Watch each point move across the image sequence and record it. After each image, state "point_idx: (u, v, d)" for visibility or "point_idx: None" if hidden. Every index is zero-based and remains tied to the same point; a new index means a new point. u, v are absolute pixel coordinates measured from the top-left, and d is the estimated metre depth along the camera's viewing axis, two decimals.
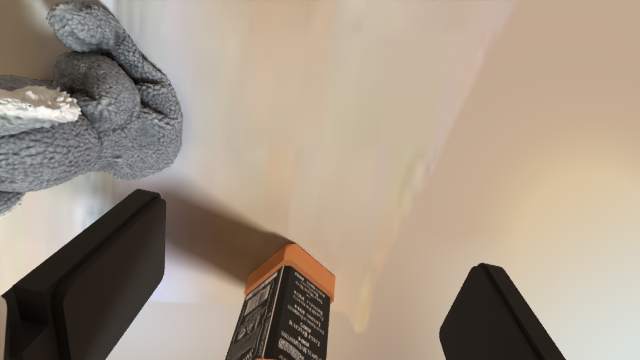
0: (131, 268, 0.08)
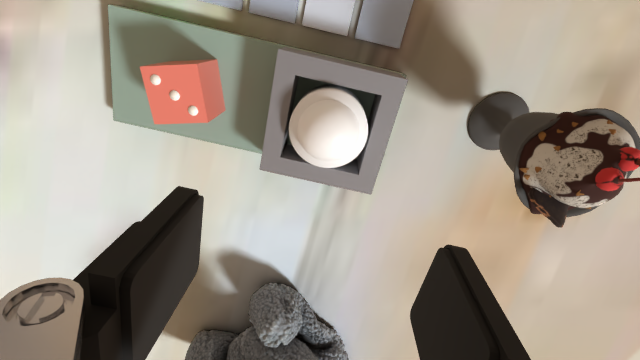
0: (176, 260, 0.09)
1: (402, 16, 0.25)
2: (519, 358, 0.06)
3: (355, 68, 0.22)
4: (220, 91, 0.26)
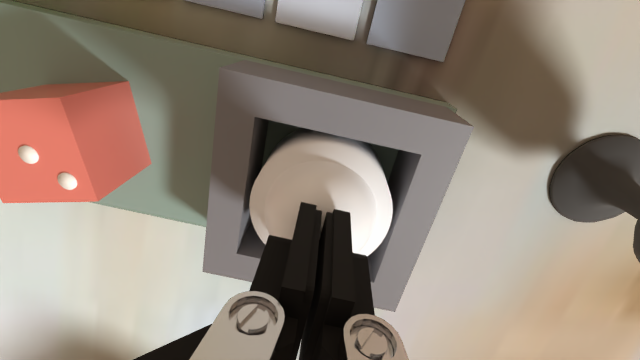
0: None
1: (453, 5, 0.14)
2: (343, 297, 0.07)
3: (371, 105, 0.11)
4: (137, 135, 0.15)
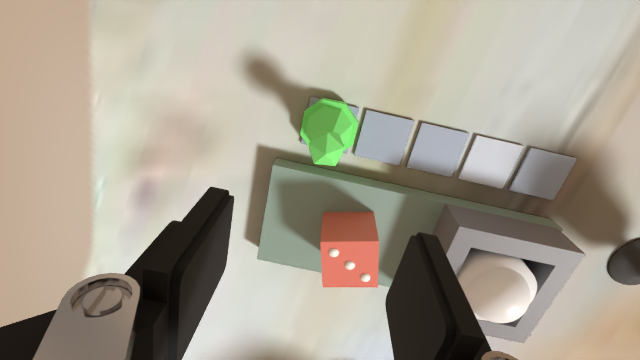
0: (212, 257, 0.09)
1: (562, 173, 0.25)
2: (473, 334, 0.07)
3: (534, 243, 0.23)
4: None
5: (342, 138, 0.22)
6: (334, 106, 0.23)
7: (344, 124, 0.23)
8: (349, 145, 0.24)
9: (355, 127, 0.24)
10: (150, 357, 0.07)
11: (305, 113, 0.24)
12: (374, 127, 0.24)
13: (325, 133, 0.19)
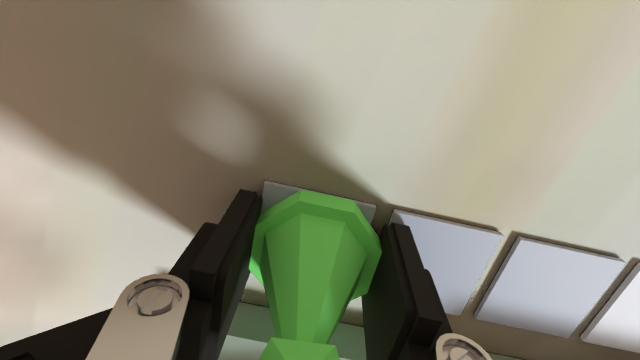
0: (245, 258, 0.09)
1: None
2: (430, 317, 0.07)
3: None
4: None
5: (344, 307, 0.09)
6: (327, 217, 0.10)
7: (350, 266, 0.09)
8: (359, 293, 0.11)
9: (375, 260, 0.10)
10: (196, 355, 0.07)
11: (258, 227, 0.10)
12: None
13: None
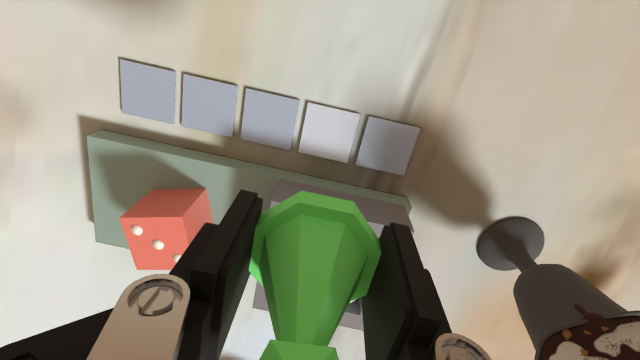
0: (245, 258, 0.09)
1: (407, 145, 0.23)
2: (429, 316, 0.07)
3: None
4: (210, 220, 0.24)
5: (344, 309, 0.09)
6: (327, 218, 0.10)
7: (350, 268, 0.09)
8: (359, 294, 0.11)
9: (375, 261, 0.10)
10: (197, 354, 0.07)
11: (258, 229, 0.10)
12: (196, 93, 0.22)
13: None
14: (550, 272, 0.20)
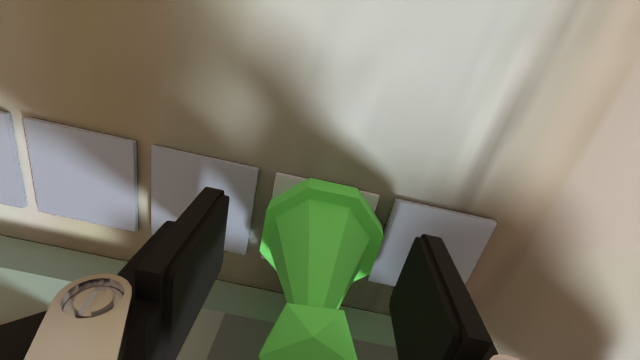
0: (206, 257, 0.09)
1: (469, 251, 0.12)
2: (479, 337, 0.07)
3: None
4: None
5: (349, 283, 0.10)
6: (333, 202, 0.10)
7: (355, 247, 0.10)
8: (362, 274, 0.12)
9: (377, 243, 0.11)
10: (142, 358, 0.07)
11: (270, 212, 0.11)
12: (54, 155, 0.11)
13: (306, 334, 0.07)
14: None
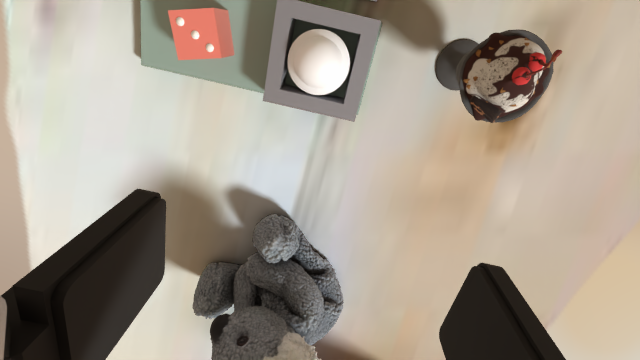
0: (131, 268, 0.08)
1: None
2: None
3: (339, 11, 0.28)
4: (230, 37, 0.32)
5: None
6: None
7: None
8: None
9: None
10: None
11: None
12: None
13: None
14: None
